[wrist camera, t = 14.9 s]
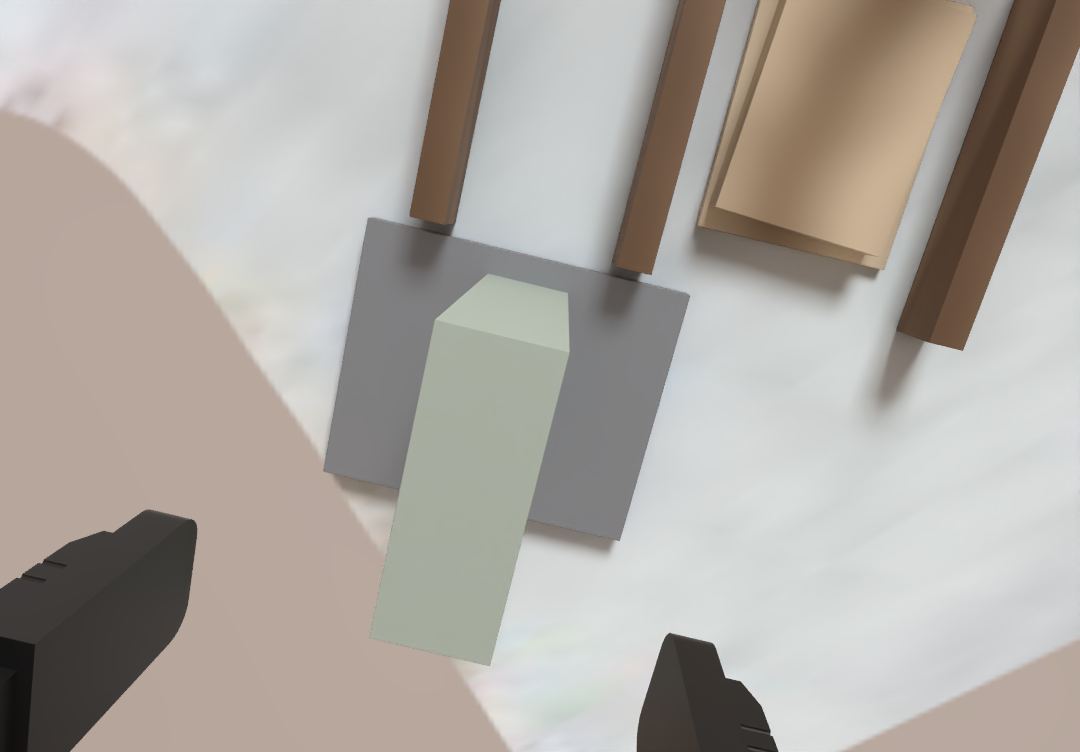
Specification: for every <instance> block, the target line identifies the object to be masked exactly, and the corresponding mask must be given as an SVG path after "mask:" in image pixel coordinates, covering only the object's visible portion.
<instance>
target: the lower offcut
mask: <svg viewBox="0 0 1080 752" xmlns="http://www.w3.org/2000/svg"><path fill="white" fill-rule="evenodd" d="M931 1H934V2H937V3H940V4H943V5H946V6H949V7H952V8H956V9H959V10H962V11H965V12H968V13H971V14H972V13H973V10H974V8H975V7H973V6H969V5H965V4H961V3H957V2H953V1H949V0H931ZM778 2H779V0H758V3H757V7H756V11H755V14H754V18H753V21H752V25H751V29H750V32H749V36H748V39H747V43H746V47H745V50H744V54H743V57H742V61H741V65H740V68H739V72H738V75H737V79H736V83H735V86H734V90H733V93H732V97H731V101H730V104H729V108H728V111H727V115H726V119H725V122H724V126H723V129H722V133H721V137H720V140H719V144H718V147H717V151H716V155H715V158H714V162H713V165H712V169H711V173H710V176H709V180H708V183H707V187H706V191H705V194H704V198H703V201H702V205H701V209H700V212H699V216H698V219H697V223H696V225H697V226H701V227H705V228H710V229H714V230H718V231H722V232H726V233H730V234H735V235H739V236H743V237H747V238H751V239H755V240H760V241H764V242H768V243H772V244H776V245H781V246H785V247H789V248H793V249H797V250H801V251H806V252H810V253H814V254H818V255H822V256H826V257H831V258H835V259H839V260H843V261H847V262H851V263H856V264H860V265H864V266H868V267H872V268H877V269H881V270H884V268H885V265H886V262H887V259H888V256H889V254H890V251H891V248H892V245H893V242H894V239H895V236H896V233H897V230H898V228H899V225H900V222H901V219H902V216H903V213H904V210H905V207H906V204H907V201H908V199H909V196H910V193H911V190H912V187H913V184H914V181H915V178H916V175H917V173H918V170H919V167H920V164H921V161H922V158H923V155H924V152H925V149H926V146H927V144H928V141H929V138H930V135H931V132H932V129H933V127H932V129H931V132H930V134H929V137H928V139H927V142H926V144H925V147H924V149H923V152H922V154H921V157H920V159H919V161H918V164H917V166H916V169H915V171H914V174H913V176H912V179H911V181H910V184H909V186H908V189H907V191H906V194H905V196H904V199H903V201H902V203H901V206H900V208H899V211H898V213H897V216H896V218H895V221H894V223H893V226H892V228H891V231H890V233H889V236H888V238H887V241H886V243H885V245H884V248H883V250H882V253H881V255H880V257H876V256H870V255H864V254H861V253H858V252H855V251H852V250H848V249H845V248H842V247H839V246H835V245H832V244H829V243H826V242H822V241H819V240H816V239H813V238H809V237H806V236H803V235H800V234H796V233H793V232H790V231H787V230H783V229H780V228H777V227H774V226H770V225H767V224H764V223H761V222H757V221H754V220H751V219H748V218H744V217H741V216H738V215H735V214H731V213H728V212H725V211H722V210H718V209H715V208H712V207H709V203H710V201H711V198H712V195H713V192H714V189H715V186H716V183H717V180H718V177H719V174H720V171H721V168H722V166H723V163H724V160H725V157H726V154H727V151H728V148H729V145H730V142H731V139H732V136H733V133H734V131H735V128H736V125H737V122H738V119H739V116H740V113H741V110H742V107H743V104H744V101H745V98H746V96H747V93H748V90H749V87H750V84H751V81H752V78H753V75H754V72H755V69H756V66H757V64H758V61H759V58H760V55H761V52H762V49H763V46H764V43H765V40H766V37H767V34H768V31H769V29H770V26H771V23H772V20H773V17H774V14H775V11H776V8H777V5H778ZM936 118H937V117H936ZM934 123H935V122H934ZM933 126H934V124H933Z"/></svg>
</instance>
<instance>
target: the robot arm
mask: <svg viewBox="0 0 1080 752" xmlns="http://www.w3.org/2000/svg"><path fill="white" fill-rule="evenodd" d="M196 539H197V525H196V523H195V521H194V520H192V519H187V518H183V517H179V516H175V515H170V514H166V513H161V512H158V511H154V510H145V511H143V512H141V513H140V514H139V515H137V516H136V517H134V518H133V519H132V520H130V521H129V522H127V523H126V524H125V525H123V526H122V527H120V528H119V529H118V530H116V531H115V532H114V533H111V532H106V531H102V532H99V533H96V534H93V535H90V536H88V537H85V538H81V539H79V540H75V541H73V542H70V543H68V544H66V545H65V546H64V547H62V548H61V549H59V550H58V551H56V552H55V553H53V554H52V555H50V556H49V557H47V558H46V559H44V561H43V563H42V564H40V563H38V564H37V565H35V566H34V567H32V568H31V569H29V570H28V571H26V572H25V573H23V574H22V577H21V578H16V579H14V580H13V581H11V582H10V583H8V584H7V585H5V586H4V587H3V588H1V589H0V752H70V751H71V750H72V749H73V748H74V747H75V745H76V744H77V743H78V742H79V741H80V740H81V739H82V738H83V737H84V736H85V735H86V733H87V732H88V731H89V730H90V729H91V728H92V727H93V726H94V725H95V723H97V721H98V720H99V719H100V718H101V717H102V716H103V715H104V714H105V713H106V711H108V710H109V708H110V707H111V706H112V705H113V704H114V703H115V702H116V700H118V699H119V697H120V696H121V695H122V694H123V693H124V692H125V691H126V690H127V689H128V688H129V687H130V686H131V685H132V683H133V682H134V681H135V680H136V679H137V678H138V677H139V676H140V675H141V674H142V673H143V671H144V670H145V669H146V668H147V667H148V666H149V665H150V664H151V663H152V661H154V659H155V658H156V657H157V656H158V655H159V654H160V653H161V652H162V651H163V650H164V649H165V648H166V646H167V645H168V644H169V643H170V642H171V641H172V639H173V638H174V637H175V635H176V633H177V632H178V630H179V627H180V626H181V623H182V621H183V619H184V616H185V613H186V609H187V606H188V600H189V592H190V585H191V577H192V570H193V562H194V554H195V547H196ZM770 732H771V731H770V728H769V725H768V723H767V720H766V717H765V715H764V712H763V709H762V707H761V705H760V704H759V703H758V702H757V700H756V699H755V698H754V697H753V696H752V694H751V693H750V692H749V691H748V690H747V688H746V687H745V686H744V685H743V684H742V682H740V681H736V680H732V679H728V678H725V675H724V672H723V669H722V666H721V663H720V660H719V657H718V654H717V651H716V648H715V646H714V644H713V643H710V642H706V641H702V640H697V639H693V638H689V637H685V636H680V635H676V634H672V633H669V634H667V636H666V637H665V639H664V641H663V643H662V646H661V650H660V653H659V656H658V659H657V662H656V666H655V669H654V672H653V675H652V678H651V682H650V685H649V688H648V691H647V694H646V698H645V701H644V704H643V707H642V711H641V714H640V719H639V725H638V732H637V752H778V749H777V746H776V744H775V741H774V739H773V736H770Z"/></svg>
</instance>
